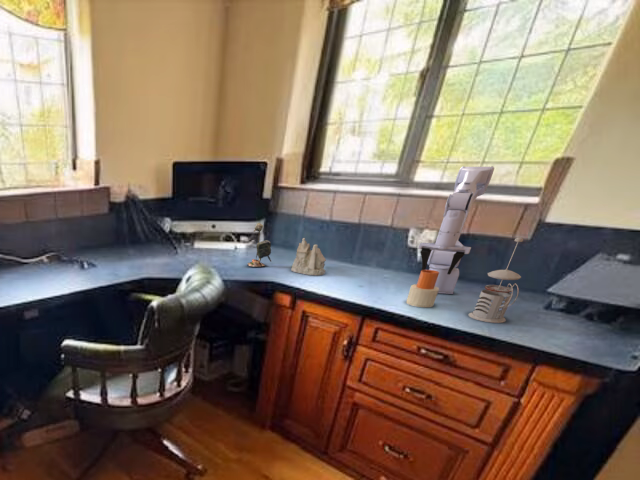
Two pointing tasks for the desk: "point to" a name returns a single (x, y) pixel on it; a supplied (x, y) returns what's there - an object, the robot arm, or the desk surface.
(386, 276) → the desk surface
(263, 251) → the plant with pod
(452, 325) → the desk surface
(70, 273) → the desk surface
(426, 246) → the robot arm
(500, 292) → the french press
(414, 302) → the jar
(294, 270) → the ceramic cottage
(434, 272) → the cup
